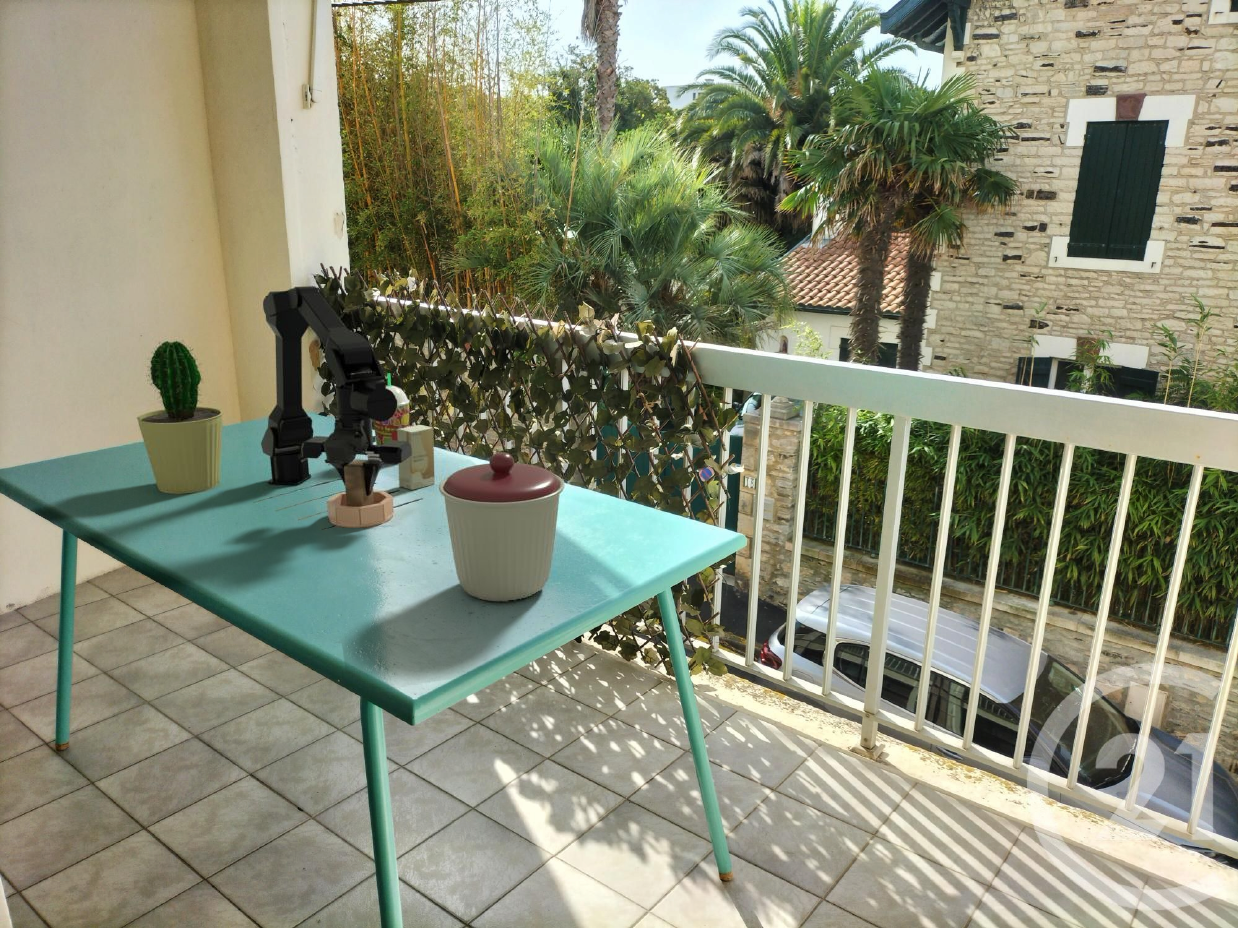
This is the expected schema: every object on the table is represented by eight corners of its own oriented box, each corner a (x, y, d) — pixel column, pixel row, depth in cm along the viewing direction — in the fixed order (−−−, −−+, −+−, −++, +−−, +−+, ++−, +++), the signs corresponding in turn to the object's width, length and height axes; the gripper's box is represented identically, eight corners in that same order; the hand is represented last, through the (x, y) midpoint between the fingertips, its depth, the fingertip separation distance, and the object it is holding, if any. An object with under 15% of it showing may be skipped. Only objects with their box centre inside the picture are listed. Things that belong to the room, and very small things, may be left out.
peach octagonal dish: (318, 525, 154) (317, 506, 153) (345, 505, 165) (344, 488, 164) (378, 529, 152) (377, 510, 152) (401, 509, 163) (400, 491, 162)
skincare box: (412, 490, 174) (409, 432, 171) (398, 486, 177) (395, 429, 174) (436, 483, 179) (434, 426, 176) (422, 479, 182) (420, 423, 179)
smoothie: (367, 463, 193) (361, 375, 188) (387, 454, 201) (382, 369, 195) (400, 467, 191) (395, 378, 185) (419, 457, 199) (415, 372, 193)
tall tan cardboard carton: (347, 514, 156) (343, 466, 154) (358, 505, 161) (355, 459, 158) (362, 515, 156) (359, 467, 153) (374, 506, 160) (371, 460, 158)
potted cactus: (245, 476, 182) (230, 334, 174) (204, 498, 167) (186, 344, 159) (176, 472, 183) (158, 331, 175) (129, 494, 168) (107, 341, 160)
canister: (434, 572, 135) (428, 442, 129) (545, 559, 141) (544, 434, 135) (455, 622, 118) (449, 475, 113) (579, 604, 125) (580, 464, 119)
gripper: (282, 418, 147) (289, 505, 151) (386, 424, 144) (391, 512, 149) (313, 405, 157) (319, 486, 161) (411, 410, 155) (414, 492, 159)
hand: (359, 494), depth 157 cm, fingers closed on tall tan cardboard carton, 3 cm apart
